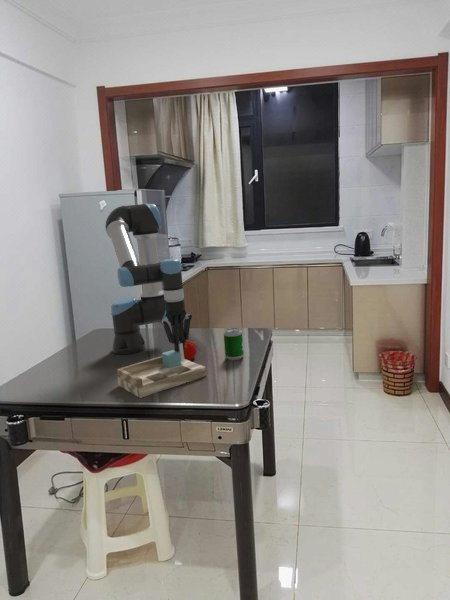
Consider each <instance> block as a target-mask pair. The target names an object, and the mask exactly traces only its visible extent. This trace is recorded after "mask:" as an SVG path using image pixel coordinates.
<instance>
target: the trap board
mask: <svg viewBox="0 0 450 600" xmlns="http://www.w3.org/2000/svg"><path fill="white" fill-rule="evenodd" d="M180 362H181V365H179V366H176V367H173V368H168V367H165V366H163V360H162V355H161V356H158V357H153V358H150V359H147V360H144V361H140V362H136V363H133V364H130V365H127V366H122V367H119V368H117V369H116V374H117V375H116V376H117V383H118V386H119V387H120V388H122V389H124V390H125V391H128V392H129V393H130V392H131V393H130V394H132V395H134V396H136V397H138V398H139V399H142V398H144V397H148V396H151V395H154V394H157V393H160V392H163V391H166V390H169V389H172V388H174V387H175V388H176V387H178V386H180V385H183V384H186V382H187V383H190V382H192V381H196V380H198V379H202V378H204V377H206V376H207V370H206V368H207V367H206V366H204V365H202V364H199V363H196V362H194V361H192V360H186V359H183V360H180Z"/></svg>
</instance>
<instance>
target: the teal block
mask: <svg viewBox="0 0 450 600" xmlns="http://www.w3.org/2000/svg"><path fill="white" fill-rule="evenodd" d="M161 356H162V360H163V366H165V367H168V368H173V367H176V366H179V365H181V362H180V353H179V352H176V351H174V349H172V350H169V351H165V352H161Z"/></svg>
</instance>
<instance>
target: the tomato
mask: <svg viewBox="0 0 450 600" xmlns="http://www.w3.org/2000/svg"><path fill="white" fill-rule="evenodd" d="M184 345H185V350H183V352H184V359H186V360H189V361H192V360H193V359H194V357H195V356H196V354H197V346H196V344H195V343H194V342H193V340H192V341H191V340H186V342H185V343H184ZM173 350H174V351H175V348H174V349H173Z"/></svg>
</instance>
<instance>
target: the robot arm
mask: <svg viewBox="0 0 450 600" xmlns="http://www.w3.org/2000/svg"><path fill="white" fill-rule="evenodd" d="M162 222H163V221H162V216H161V213H160V210H159V209H158V207H157V205H156V204H155V203H141V204H131V205H130V204H129V205H121V206H118V207H116V208H114V209H113V210H112V211H111V212H110V213H109V214H108V216H107V217H106V220H105V232H106V234H107V235H106V236H108V238H110V239H111V243H112V246H113V249H114V252H115V255H116V259H117V261H118V264H119V268H118V269H117V280H118V284H119V285H120V287H123V288H125V287H130V288H131V287H134V286H135V287H136V286H142V293H141V294H140V295H139V296H140V299H137V297H133V296H132V297H125V298H122V299H119V300H116V301H114V302H113V303H112V304H111V313H110V314H111V319H112V326H113V332H114V336H113V340H112V345H111V347H112V348H111V349H112V353H113V354H116V355H132V354H136V353H139V352H143V351H144V350H145V349H146V348H147V345H146V344H147V343H146V341H145V337H144V336H143V334H142V332H141V328H140V326H144V325H149V324H151V325H152V324H157V323H159V324H161V325H162V326H163V328H164V332H165V335H166V336H167V339H168V342H169V343H170V344H173V347H174V348H175V351H176V352H179V353H180V360H183V359H184V352H183V350H185V345H184V343H185V342H186V340H187V341H189V336H190V329H191V328H190V326H191V321H192V318H193V315H192V314H189V313H187V311H186V303H185V292H184V285H183V274H182V273H183V272H182V266H181V260H180V259H178V258H166V259H162V260H161V261H159V255H158V254H159V252H158V243H157V237H158V235H159V234H160V233H159V232H160V231H159V230H161V229H162V227H163V223H162ZM129 233H132V237H134V238H135V239H136V245H137V252H138V256H137V254H136V251H135V247H134V244H133V242H132V240H131V236H130V234H129ZM138 258H139V259H138ZM169 324H170V325H169Z"/></svg>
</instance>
